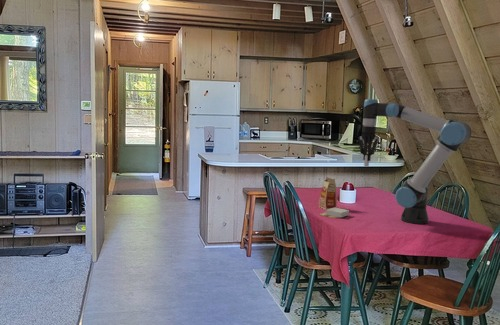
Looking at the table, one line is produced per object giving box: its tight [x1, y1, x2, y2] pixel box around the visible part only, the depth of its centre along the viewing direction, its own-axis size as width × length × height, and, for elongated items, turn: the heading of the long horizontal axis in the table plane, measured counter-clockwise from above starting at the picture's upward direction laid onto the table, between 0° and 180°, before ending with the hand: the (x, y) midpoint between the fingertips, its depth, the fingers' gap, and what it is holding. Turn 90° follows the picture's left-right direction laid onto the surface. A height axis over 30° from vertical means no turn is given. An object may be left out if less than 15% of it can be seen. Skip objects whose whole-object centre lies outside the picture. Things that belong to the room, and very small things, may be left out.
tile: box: [325, 207, 350, 219], centre depth 285 cm, size 3×10×10 cm
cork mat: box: [318, 211, 339, 220], centre depth 287 cm, size 12×14×1 cm
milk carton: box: [318, 176, 338, 211], centre depth 304 cm, size 9×9×20 cm
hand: (366, 166), depth 281 cm, fingers closed
